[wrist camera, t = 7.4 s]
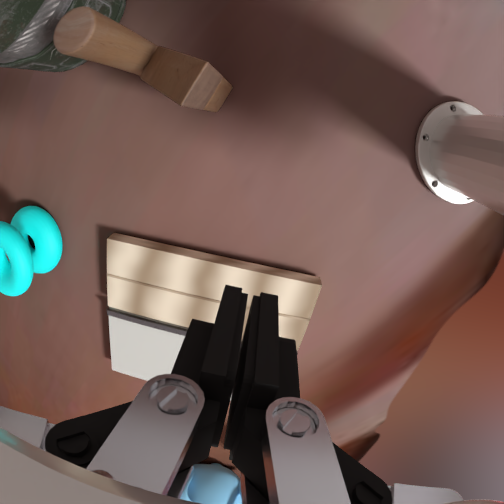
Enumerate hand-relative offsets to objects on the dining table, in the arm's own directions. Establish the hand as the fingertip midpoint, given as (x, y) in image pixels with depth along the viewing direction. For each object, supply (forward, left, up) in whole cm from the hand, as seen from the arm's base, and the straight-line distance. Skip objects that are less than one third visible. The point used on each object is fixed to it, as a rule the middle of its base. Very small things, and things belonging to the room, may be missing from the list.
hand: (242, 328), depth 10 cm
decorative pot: (-2, +62, -27) cm, 68 cm away
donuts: (+30, +13, -27) cm, 43 cm away
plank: (+4, +15, -27) cm, 31 cm away
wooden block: (+11, -10, -27) cm, 31 cm away
